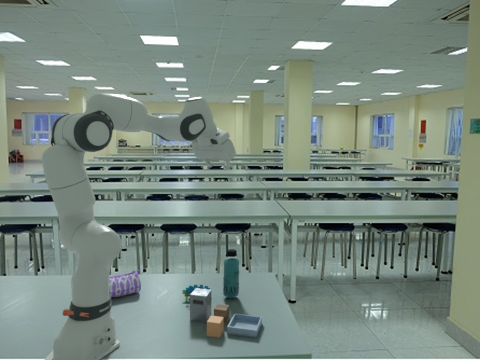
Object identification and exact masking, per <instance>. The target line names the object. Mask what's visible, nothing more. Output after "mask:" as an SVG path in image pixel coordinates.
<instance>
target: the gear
mask: <svg viewBox="0 0 480 360" xmlns="http://www.w3.org/2000/svg"><path fill="white" fill-rule="evenodd" d="M195 288H200V289H209V290H211V288H210V287H209V286H208V285H204V284H199V285H198V284H194V285H188V287H185V289H182V295H184V297H185V303H188V297H189V298H190V294H191V293H192V292H193V291H194V289H195Z"/></svg>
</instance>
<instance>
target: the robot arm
mask: <svg viewBox="0 0 480 360" xmlns="http://www.w3.org/2000/svg"><path fill="white" fill-rule="evenodd" d="M213 117H214V116H213V113H212V110H211V108H210V105H209V103H208V102H207V100H206V98H205V97H202V96H197V97H196V96H195V97H191V98H188V99H186V100H185V101H184V106H183V109H182V111H181V112H180V114H164V115H159V116H157V115H154V114H151V113H148V108H147V107H146V105H145V104H144V103H143V102H141V101H140V100H138V99H135V98H132V97H128V96H124V95H122V94H115V93H108V92H97V93H94V94H92V95H91V96H90V97H89V98H88V101H87V102H86V109H85V111H84V112H77V113H68V114H67V113H66V114H63V115H61V116H60V117H58V118H57V119H56V120H55V121H53V123H52V127H51V138H50V145H51V146H49V147H47V149H45V150H44V151H43V152H42V155H41V163H42V169H43V174H44V177H45V181H46V184H47V188H48V190H49V192H50V197H52V201H53V204H54V207H55V210H56V212H57V216H58V223H59V224H58V225H59V230H58V240H59V242H60V243H61V245H62V246H63V248H65V249H66V251H69V252H70V253H73V254H74V255H76V256H77V266H76V271H75V272H74V273H73V274H72V276H71V280H70V282H71V283H70V284H71V301H70V305H69V309H68V308H64V309H63V311H62V316H64V317H67V319H66V320H65V322H64V324H63V325H62V327H61V329H60V330H59V332H58V333H57V335H56V337H55V338H54V340H53V341H54V342H53V346H52V347H53V348H52V350H51V351H50V353H48V355H47V356H46V357H45V358H44V360H102V359H103V358H105V356H107V355H108V354H110V353H111V352H113V351H114V350H116V349H117V348H119V347H120V345H121V342H120V340H119V339H118V338H117V337H118V336H117V331H116V330H117V329H116V323H115V317H113V314H112V311H111V309H112V298H111V297H110V295H109V277H110V275H111V274H110V273H111V269H112V264H113V261H114V260H115V259H116V258H117V257H118V256H119V254H120V252H121V250H122V240H121V237H120V235H119V234H118V232H116V231H115V230H114V229H112V228H111V227H109V226H107V225H103V224H101V223H98V221H97V220H96V218H95V214H94V205H95V203H96V196H95V194H94V190H93V187H92V185H91V181H90V179H89V176H88V173H87V169H86V167H85V163H84V161H85V160H84V157H85V152H86V153H87V152H88V153H96V152H100V151H102V150H104V149H105V148H107V147H108V146H109V145H110V143H111V140H112V138H113V132H114V131H118V132H119V131H120V132H125V133H139V132H142V131H143V132H148V133H151V134H155V135H156V136H157V137H159V138H160V139H161V140H164V141H167V142H174V141H176V142H177V141H179V142H191V147H192V151H193V154H194V156H195V157H196V158H197V159H202V160H203V161H204V162H205V164H206V165H207V167H208V168H212V167H213V166H214V163H213V161H211V160H223V162H225V164H224V165H223V166H224V168H225V169H230V168H231V164H230V162H231V160H233V159H234V158H235V157H236V155H237V152H236V148H235V147H234V143H233V142H232V139H230V137H231V136H230V133H229V132H227V131H225V130H223V129H220V128H218V127H217V125H216V123H215V121H214V118H213ZM210 159H211V160H210Z"/></svg>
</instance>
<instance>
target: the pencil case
mask: <svg viewBox="0 0 480 360" xmlns="http://www.w3.org/2000/svg"><path fill="white" fill-rule="evenodd" d="M139 273H140V270H139V269H136V271H135V270H132V271H130V272H127V273H123V274H117V275H114V276H109V295H110V297H111V299H113V298H119V297H123V296H128V295H132V294H137V293H140V291H141V289H142V288H141V287H142V284H141V279H140V275H139Z"/></svg>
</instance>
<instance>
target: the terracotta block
mask: <svg viewBox="0 0 480 360" xmlns="http://www.w3.org/2000/svg"><path fill="white" fill-rule="evenodd" d="M224 325H225V324H224V317H219V316H214V315H211V316H210V318H209V319H208V321H207V323H206V337H214V338H221V337H222V334H224V333H223V332H224V328H225V327H224Z"/></svg>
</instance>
